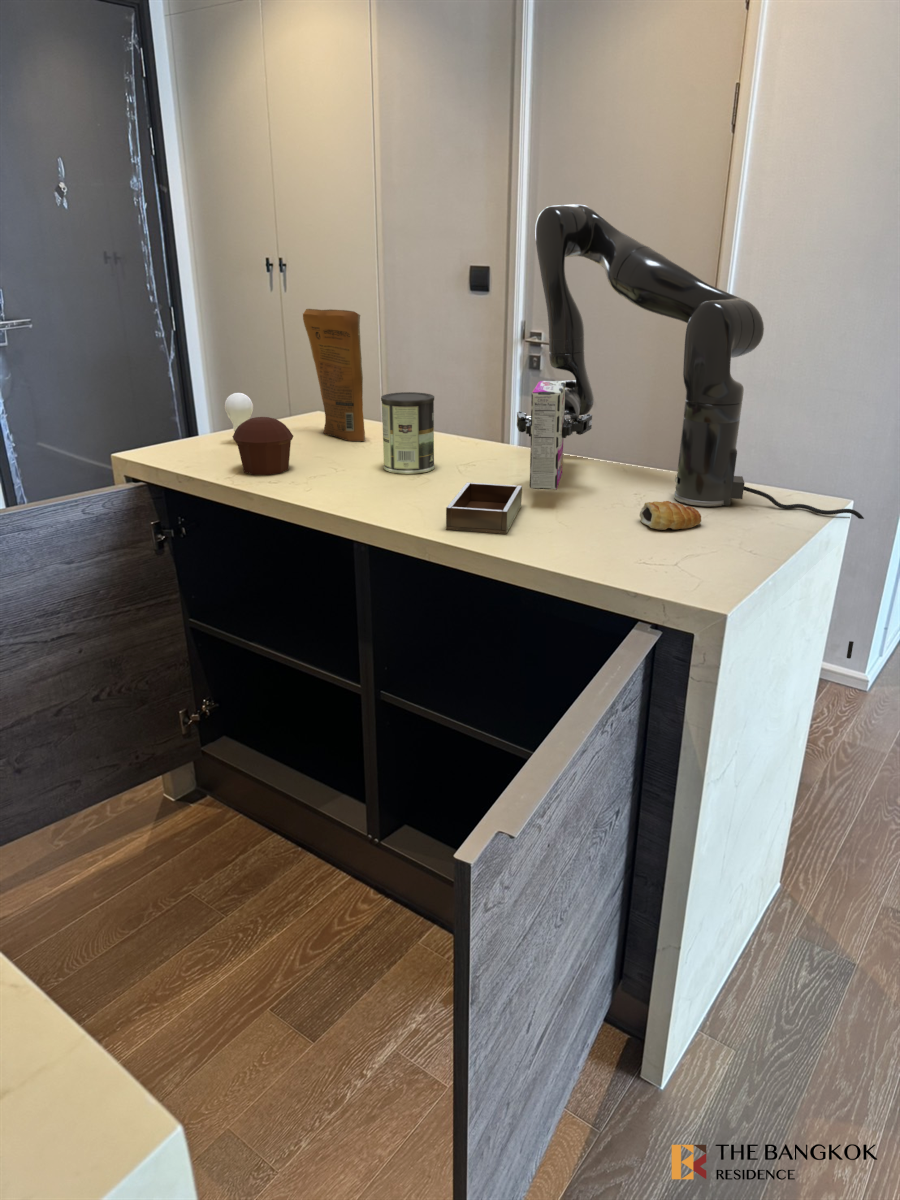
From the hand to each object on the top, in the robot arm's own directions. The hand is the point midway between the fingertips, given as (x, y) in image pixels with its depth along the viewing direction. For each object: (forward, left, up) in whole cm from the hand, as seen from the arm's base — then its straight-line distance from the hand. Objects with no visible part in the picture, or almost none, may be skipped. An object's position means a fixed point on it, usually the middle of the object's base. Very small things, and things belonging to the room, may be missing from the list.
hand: (547, 431), depth 146 cm
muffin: (+56, -8, -12) cm, 58 cm away
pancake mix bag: (+52, -41, -12) cm, 68 cm away
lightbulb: (+71, -29, -12) cm, 78 cm away
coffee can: (+29, -16, -12) cm, 35 cm away
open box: (+8, +13, -12) cm, 19 cm away
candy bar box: (0, 0, -9) cm, 9 cm away
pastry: (-21, +10, -12) cm, 26 cm away
